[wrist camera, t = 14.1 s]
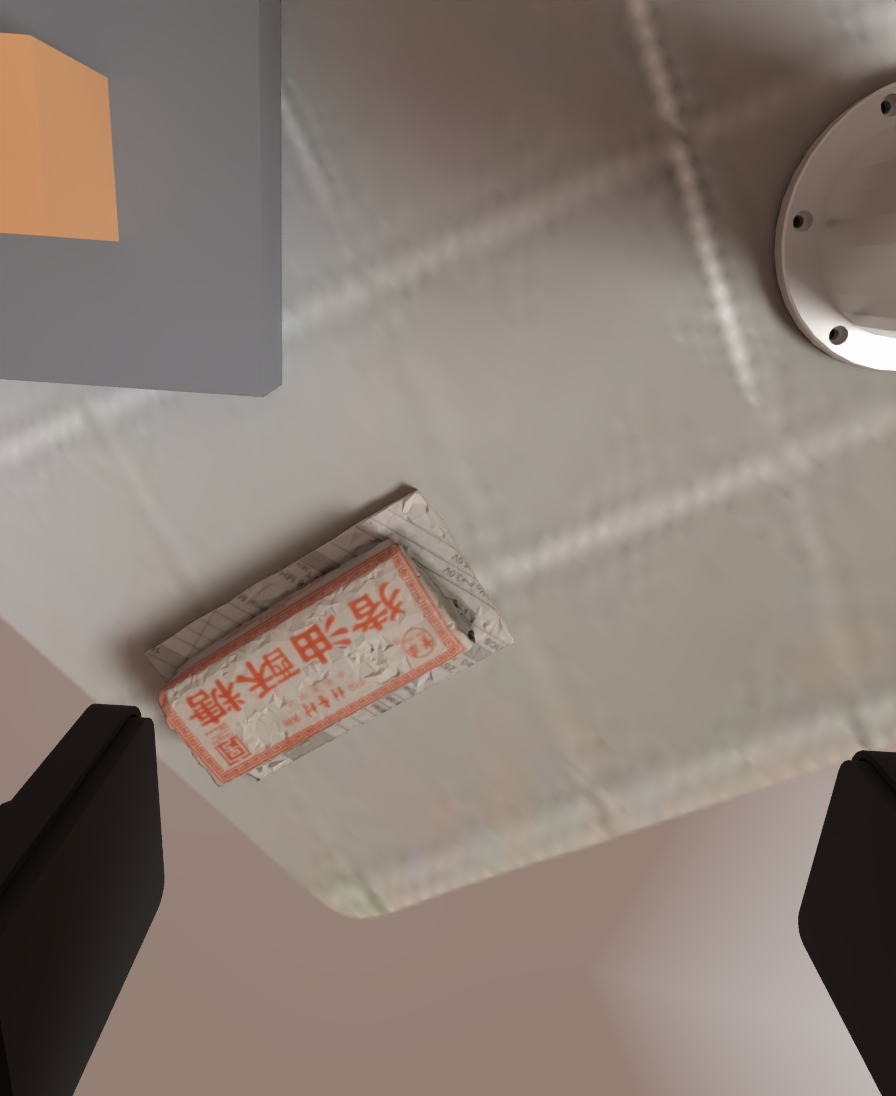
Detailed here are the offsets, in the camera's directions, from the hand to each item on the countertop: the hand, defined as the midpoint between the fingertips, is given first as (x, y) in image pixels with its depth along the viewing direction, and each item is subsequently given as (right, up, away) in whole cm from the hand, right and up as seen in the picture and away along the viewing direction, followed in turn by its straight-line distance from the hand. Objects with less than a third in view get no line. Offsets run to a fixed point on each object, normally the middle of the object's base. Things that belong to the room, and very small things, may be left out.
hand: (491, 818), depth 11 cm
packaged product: (-7, -1, +33) cm, 34 cm away
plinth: (-17, +21, +25) cm, 37 cm away
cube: (-17, +20, +21) cm, 33 cm away
